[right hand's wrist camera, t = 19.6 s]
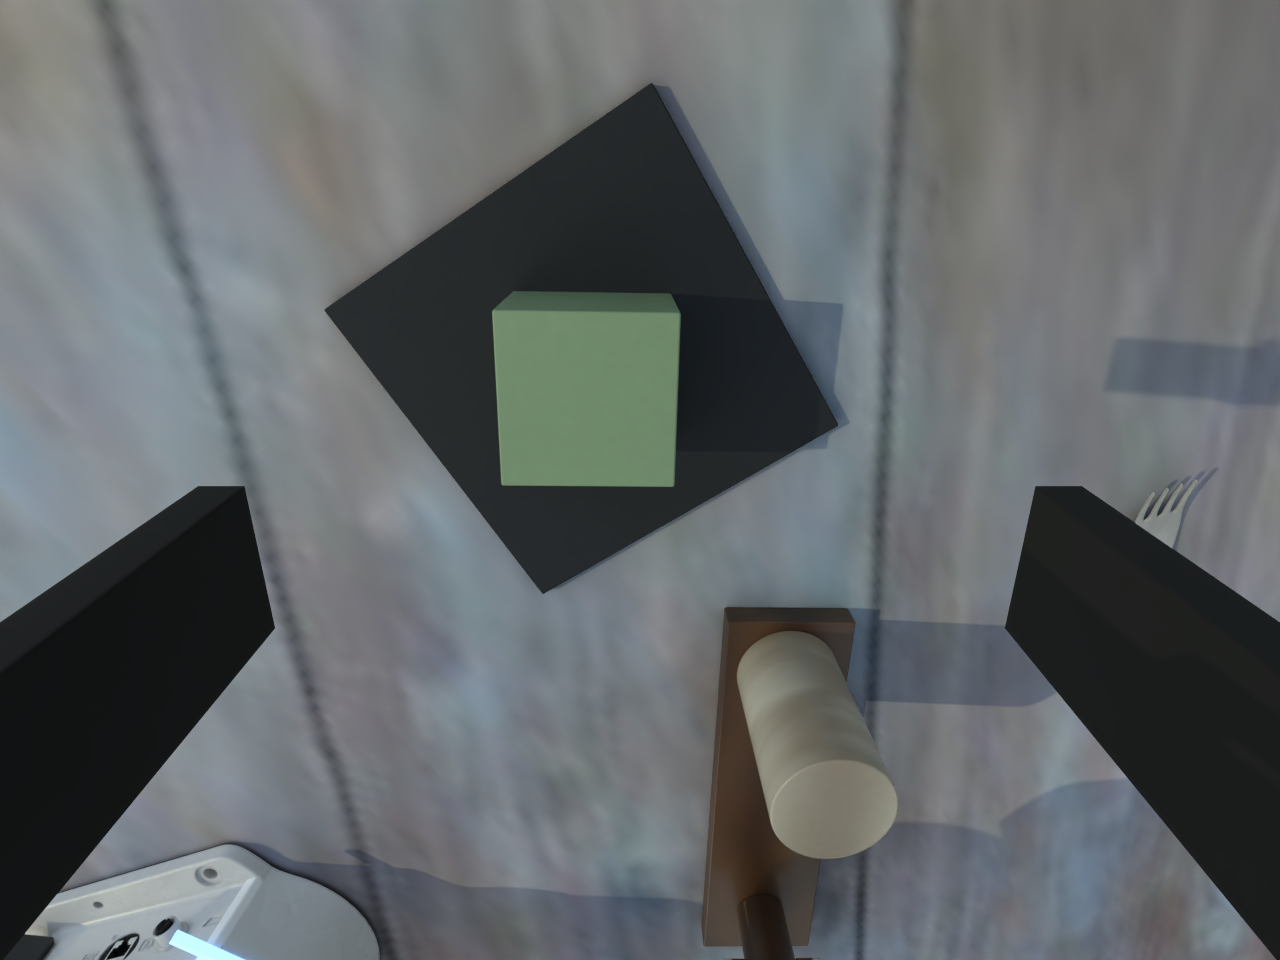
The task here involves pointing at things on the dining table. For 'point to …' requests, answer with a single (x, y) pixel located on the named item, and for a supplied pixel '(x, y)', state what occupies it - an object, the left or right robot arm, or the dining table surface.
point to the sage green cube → (587, 388)
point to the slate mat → (589, 262)
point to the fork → (1164, 515)
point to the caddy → (786, 776)
